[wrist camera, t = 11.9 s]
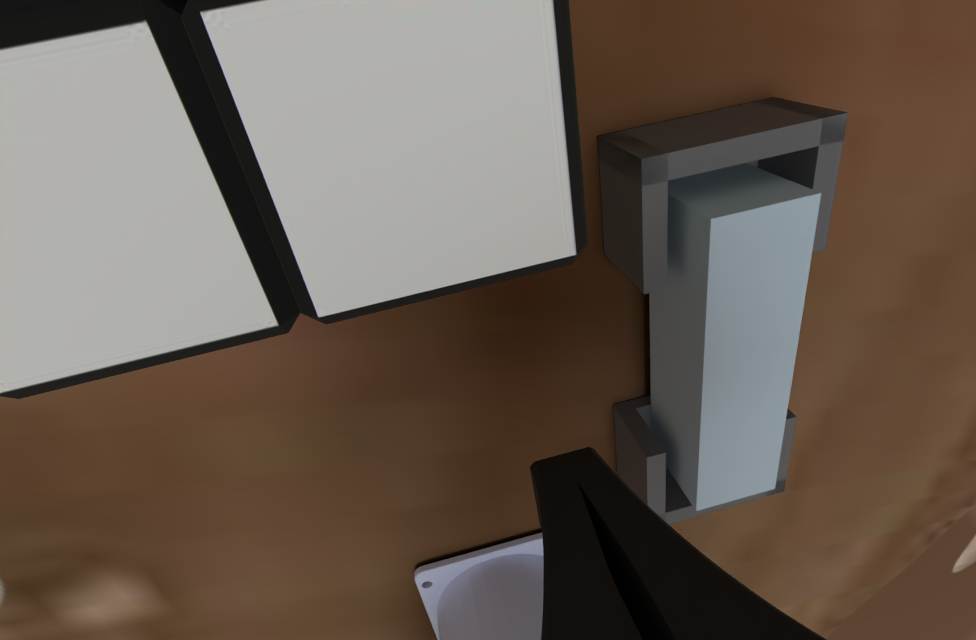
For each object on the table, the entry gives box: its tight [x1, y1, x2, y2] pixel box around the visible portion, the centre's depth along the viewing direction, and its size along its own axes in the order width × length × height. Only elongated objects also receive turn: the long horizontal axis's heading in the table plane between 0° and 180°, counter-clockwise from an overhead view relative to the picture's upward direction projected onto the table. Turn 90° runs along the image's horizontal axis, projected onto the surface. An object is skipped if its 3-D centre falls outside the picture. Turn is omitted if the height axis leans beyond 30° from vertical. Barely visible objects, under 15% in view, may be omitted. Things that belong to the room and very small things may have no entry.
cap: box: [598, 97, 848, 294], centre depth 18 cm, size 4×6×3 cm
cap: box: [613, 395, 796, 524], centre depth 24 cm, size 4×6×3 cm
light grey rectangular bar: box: [649, 163, 821, 511], centre depth 20 cm, size 12×3×4 cm, turn 9°
